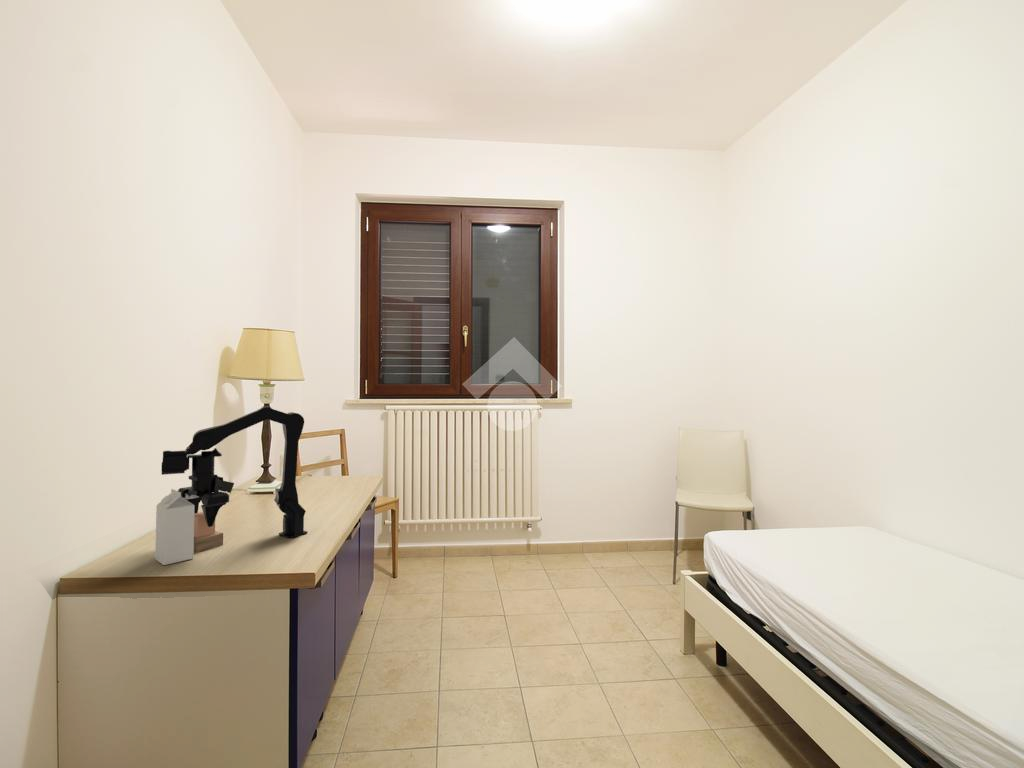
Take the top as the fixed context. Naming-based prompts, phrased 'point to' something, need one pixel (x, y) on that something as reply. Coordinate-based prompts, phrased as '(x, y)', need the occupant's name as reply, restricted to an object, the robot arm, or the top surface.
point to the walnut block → (208, 542)
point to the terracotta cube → (202, 526)
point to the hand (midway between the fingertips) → (202, 524)
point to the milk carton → (174, 529)
